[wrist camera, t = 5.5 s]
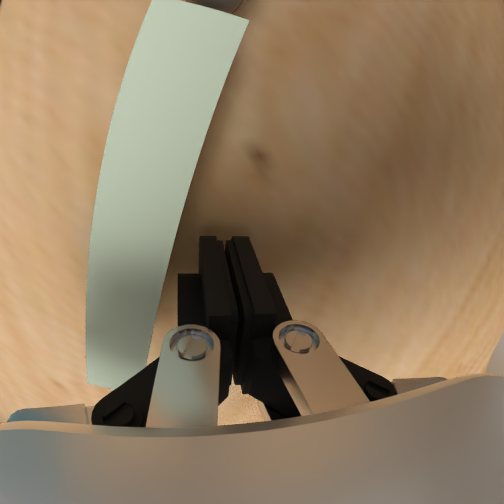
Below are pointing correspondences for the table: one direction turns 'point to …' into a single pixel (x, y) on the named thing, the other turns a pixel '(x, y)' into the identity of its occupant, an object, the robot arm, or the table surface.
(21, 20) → the table surface
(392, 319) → the table surface
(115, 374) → the leg
